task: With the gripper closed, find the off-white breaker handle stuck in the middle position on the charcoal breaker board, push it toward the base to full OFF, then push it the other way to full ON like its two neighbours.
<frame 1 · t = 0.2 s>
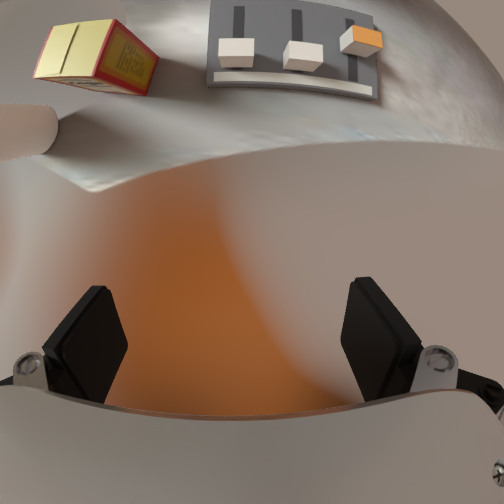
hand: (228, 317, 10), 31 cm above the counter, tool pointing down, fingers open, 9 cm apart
baking soda box: (125, 74, 31), on the counter
alcohol: (43, 129, 32), on the counter
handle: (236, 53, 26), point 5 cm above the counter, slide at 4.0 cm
handle tripped: (360, 42, 25), point 6 cm above the counter, slide at 0.0 cm
handle mid: (301, 57, 26), point 5 cm above the counter, slide at 4.0 cm
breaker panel: (293, 44, 30), on the counter
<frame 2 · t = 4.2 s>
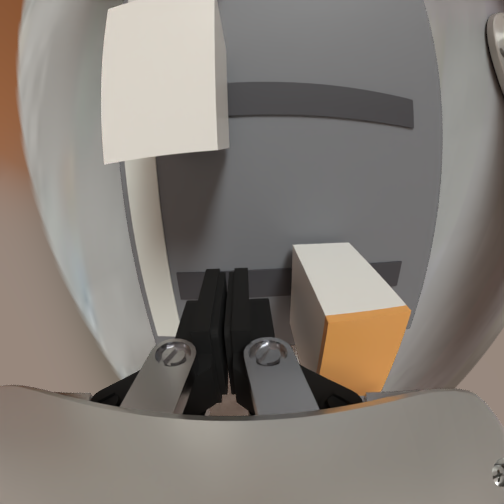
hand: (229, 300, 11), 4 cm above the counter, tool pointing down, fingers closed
handle tripped: (335, 319, 10), point 6 cm above the counter, slide at -0.9 cm, touching gripper
handle mid: (180, 87, 7), point 5 cm above the counter, slide at 4.0 cm
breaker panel: (287, 106, 12), on the counter
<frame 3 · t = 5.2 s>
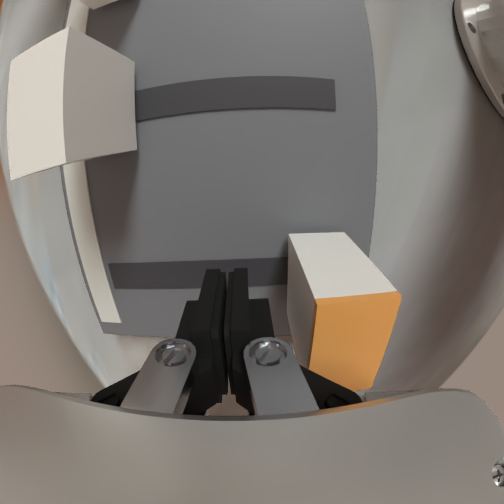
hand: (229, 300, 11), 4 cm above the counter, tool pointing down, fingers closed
handle tripped: (329, 306, 10), point 6 cm above the counter, slide at -4.6 cm, touching gripper
handle mid: (77, 106, 7), point 5 cm above the counter, slide at 4.0 cm
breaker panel: (209, 103, 12), on the counter
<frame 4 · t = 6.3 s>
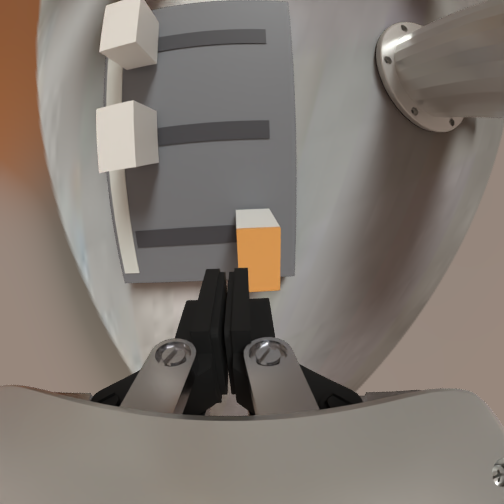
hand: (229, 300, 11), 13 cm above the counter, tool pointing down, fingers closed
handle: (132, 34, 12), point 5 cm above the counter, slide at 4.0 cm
handle tripped: (255, 246, 18), point 6 cm above the counter, slide at -4.1 cm
handle mid: (130, 137, 15), point 6 cm above the counter, slide at 4.0 cm
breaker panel: (199, 134, 21), on the counter
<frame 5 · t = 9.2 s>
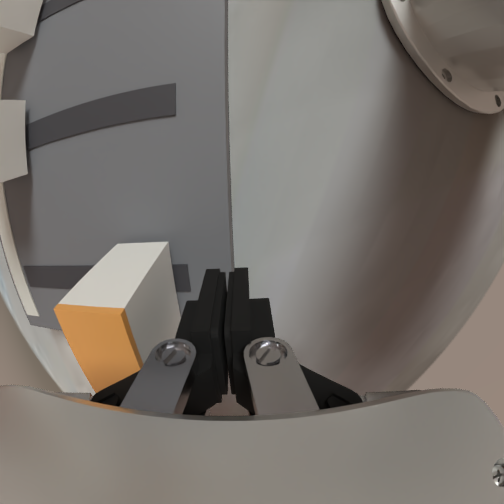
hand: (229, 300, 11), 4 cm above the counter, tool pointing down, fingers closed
handle tripped: (130, 315, 10), point 6 cm above the counter, slide at -3.6 cm, touching gripper
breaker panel: (93, 123, 12), on the counter
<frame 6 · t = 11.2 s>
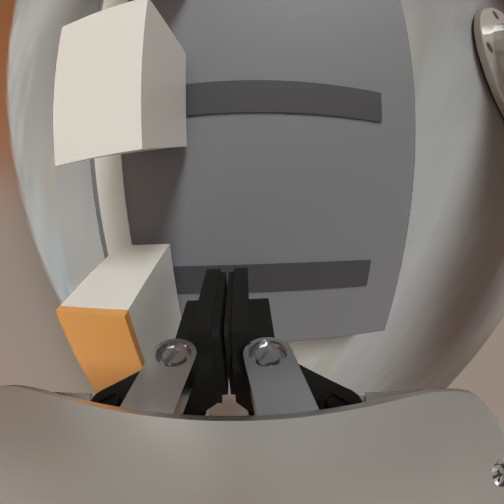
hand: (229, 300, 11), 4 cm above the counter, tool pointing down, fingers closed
handle tripped: (132, 318, 10), point 6 cm above the counter, slide at 5.1 cm, touching gripper
handle mid: (131, 91, 7), point 6 cm above the counter, slide at 4.0 cm
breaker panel: (253, 105, 12), on the counter
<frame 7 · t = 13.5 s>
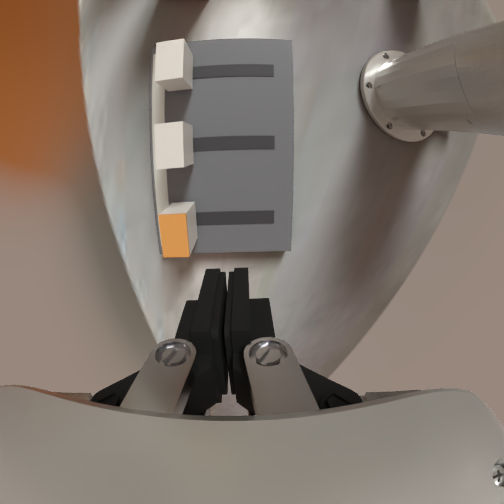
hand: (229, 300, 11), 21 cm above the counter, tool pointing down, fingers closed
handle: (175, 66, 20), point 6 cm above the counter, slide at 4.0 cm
handle tripped: (179, 227, 26), point 6 cm above the counter, slide at 4.1 cm
handle mid: (175, 145, 23), point 6 cm above the counter, slide at 4.0 cm
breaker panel: (222, 143, 28), on the counter
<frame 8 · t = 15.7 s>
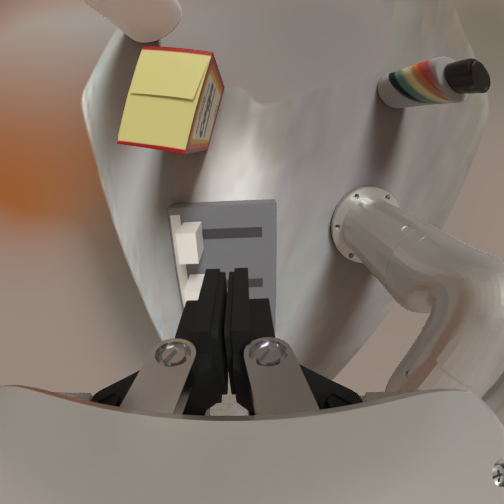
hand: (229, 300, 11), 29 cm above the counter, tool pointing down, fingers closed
baking soda box: (193, 114, 34), on the counter
lotion bottle: (391, 91, 32), on the counter
alcohol: (155, 21, 27), on the counter
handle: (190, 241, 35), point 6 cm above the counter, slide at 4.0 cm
handle mid: (197, 294, 38), point 6 cm above the counter, slide at 4.0 cm
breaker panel: (227, 276, 43), on the counter
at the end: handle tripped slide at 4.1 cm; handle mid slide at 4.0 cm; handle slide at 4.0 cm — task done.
